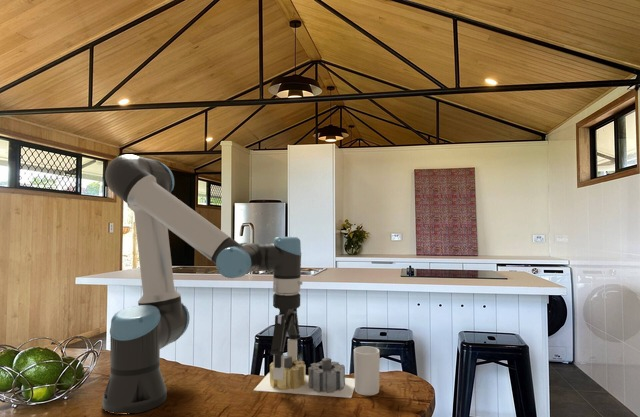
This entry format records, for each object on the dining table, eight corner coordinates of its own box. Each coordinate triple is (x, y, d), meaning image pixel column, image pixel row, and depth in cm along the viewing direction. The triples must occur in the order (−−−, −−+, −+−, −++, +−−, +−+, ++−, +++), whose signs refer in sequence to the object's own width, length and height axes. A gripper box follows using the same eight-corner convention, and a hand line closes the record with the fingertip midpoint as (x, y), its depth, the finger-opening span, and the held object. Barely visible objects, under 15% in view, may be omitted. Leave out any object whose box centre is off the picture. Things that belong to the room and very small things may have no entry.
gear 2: (312, 394, 111) (312, 374, 111) (306, 380, 120) (306, 362, 120) (348, 391, 112) (348, 371, 113) (339, 377, 122) (339, 359, 122)
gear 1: (265, 388, 115) (265, 369, 115) (276, 375, 124) (276, 357, 124) (300, 391, 113) (300, 371, 113) (308, 377, 122) (308, 359, 122)
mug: (378, 402, 109) (378, 354, 109) (352, 400, 110) (351, 353, 111) (382, 387, 119) (381, 343, 119) (358, 385, 120) (357, 342, 121)
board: (253, 395, 114) (253, 363, 114) (268, 377, 126) (268, 348, 126) (351, 403, 108) (351, 369, 109) (357, 384, 121) (356, 353, 121)
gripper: (287, 302, 106) (286, 389, 106) (310, 286, 130) (309, 356, 130) (258, 300, 107) (257, 386, 107) (286, 285, 132) (285, 354, 132)
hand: (285, 370), depth 119 cm, fingers open, 13 cm apart
